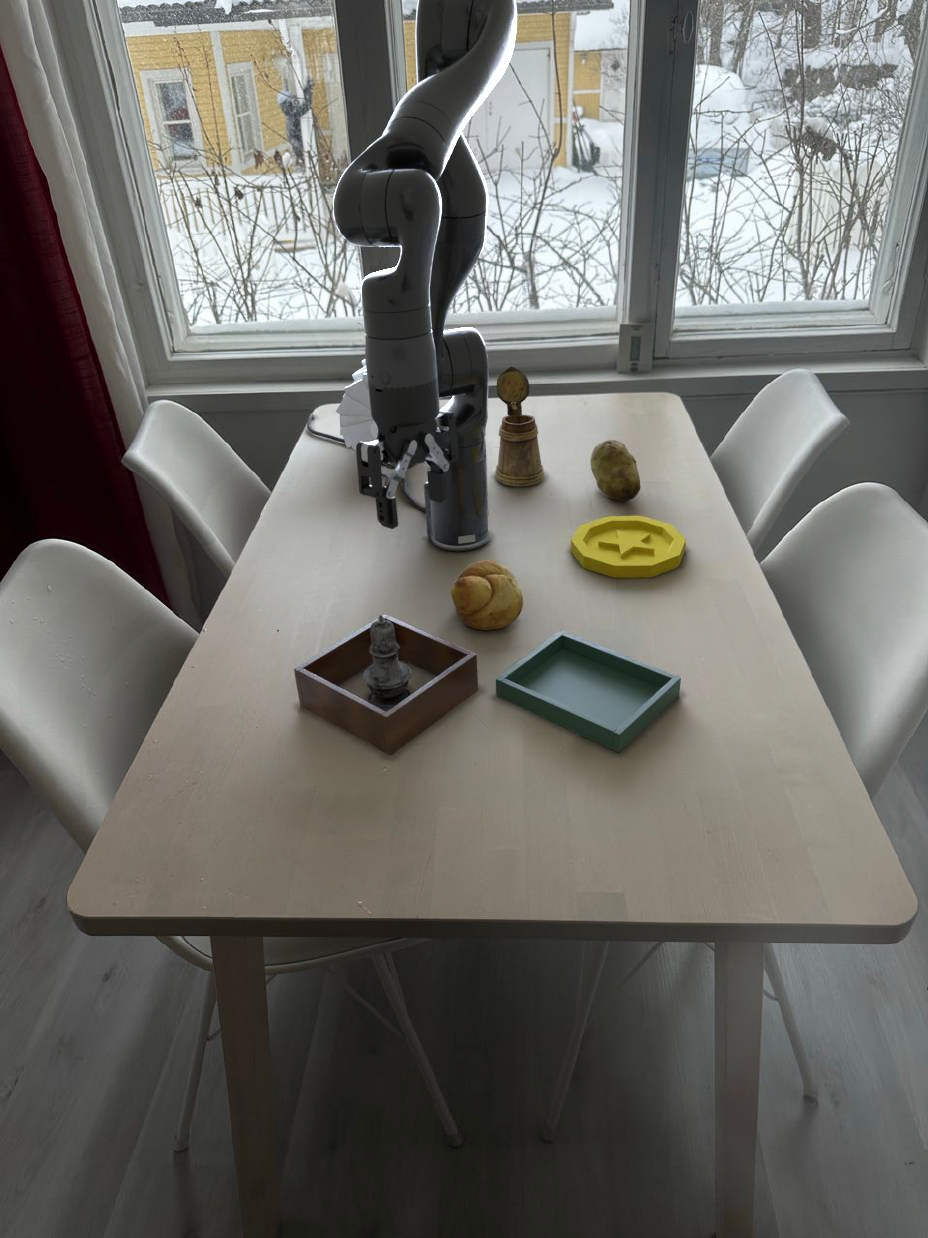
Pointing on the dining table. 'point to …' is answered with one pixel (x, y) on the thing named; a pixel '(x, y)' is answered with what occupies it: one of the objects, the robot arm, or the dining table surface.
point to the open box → (406, 717)
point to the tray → (589, 689)
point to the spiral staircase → (357, 411)
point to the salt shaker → (386, 668)
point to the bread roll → (487, 596)
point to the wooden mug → (517, 434)
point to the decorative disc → (628, 546)
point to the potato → (615, 470)
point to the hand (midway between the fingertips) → (414, 513)
